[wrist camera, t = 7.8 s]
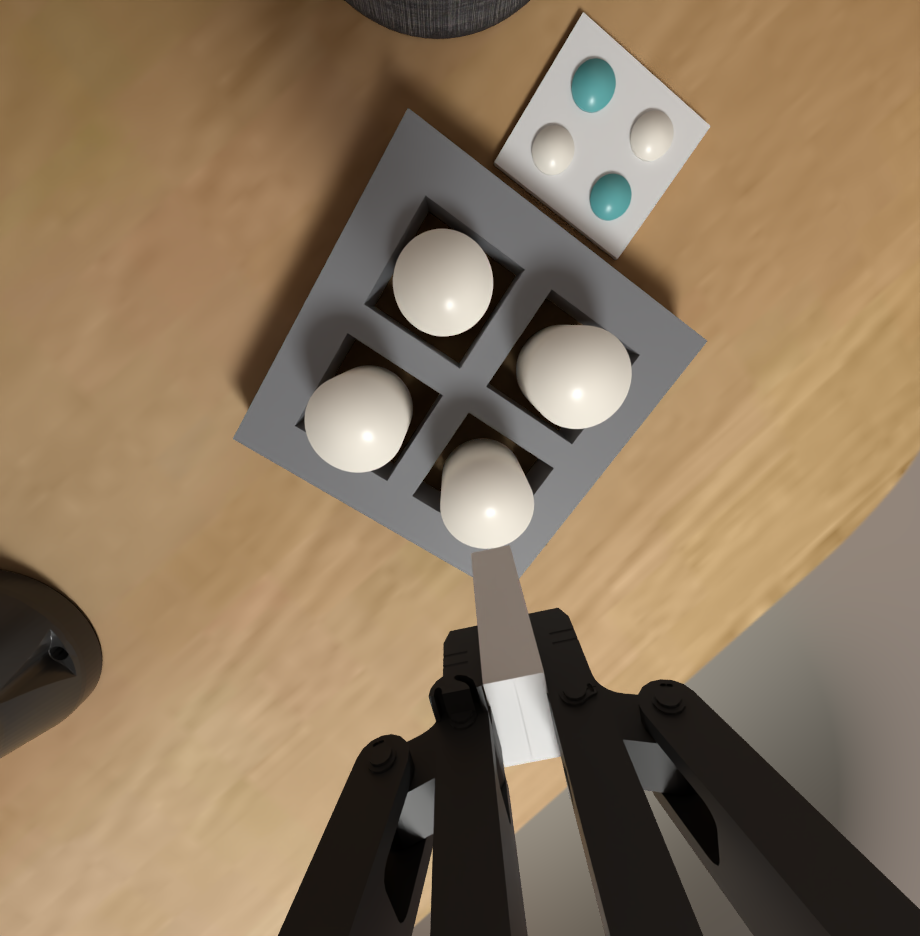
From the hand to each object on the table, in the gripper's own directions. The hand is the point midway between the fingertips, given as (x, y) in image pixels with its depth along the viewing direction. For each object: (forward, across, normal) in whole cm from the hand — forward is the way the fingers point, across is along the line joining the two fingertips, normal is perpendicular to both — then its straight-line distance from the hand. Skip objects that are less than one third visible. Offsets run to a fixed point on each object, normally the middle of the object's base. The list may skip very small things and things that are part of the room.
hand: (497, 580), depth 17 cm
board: (+18, 0, +5) cm, 19 cm away
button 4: (+15, +7, +5) cm, 18 cm away
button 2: (+18, 0, +12) cm, 21 cm away
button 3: (+15, 0, -1) cm, 15 cm away
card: (+18, +12, +18) cm, 28 cm away
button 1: (+15, -6, +5) cm, 17 cm away
